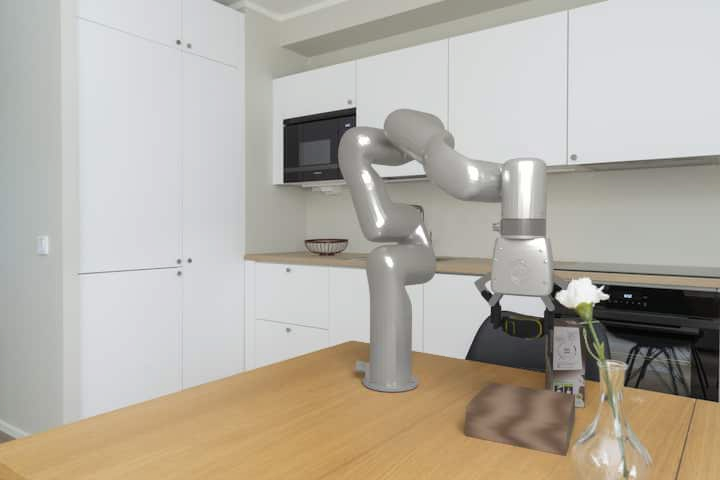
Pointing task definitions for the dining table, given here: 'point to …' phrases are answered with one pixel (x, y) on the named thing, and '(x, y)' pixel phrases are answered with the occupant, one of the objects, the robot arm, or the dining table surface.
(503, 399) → the block
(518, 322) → the tape measure
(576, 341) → the coffee box
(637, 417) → the dining table surface
